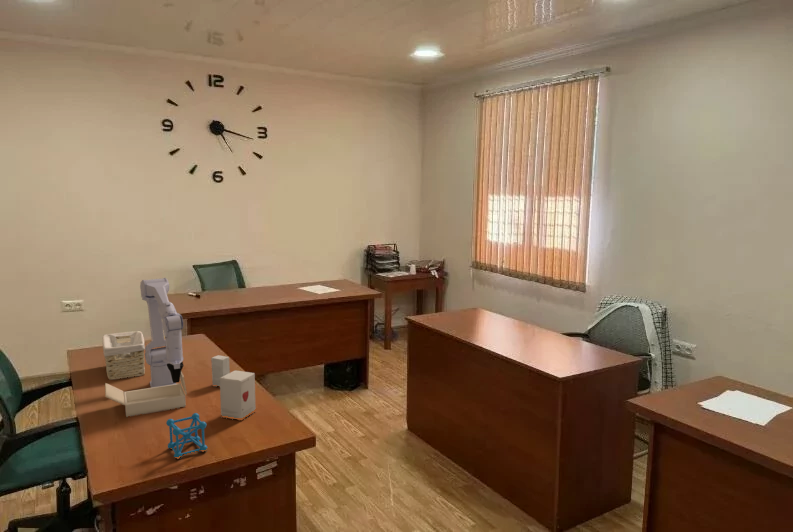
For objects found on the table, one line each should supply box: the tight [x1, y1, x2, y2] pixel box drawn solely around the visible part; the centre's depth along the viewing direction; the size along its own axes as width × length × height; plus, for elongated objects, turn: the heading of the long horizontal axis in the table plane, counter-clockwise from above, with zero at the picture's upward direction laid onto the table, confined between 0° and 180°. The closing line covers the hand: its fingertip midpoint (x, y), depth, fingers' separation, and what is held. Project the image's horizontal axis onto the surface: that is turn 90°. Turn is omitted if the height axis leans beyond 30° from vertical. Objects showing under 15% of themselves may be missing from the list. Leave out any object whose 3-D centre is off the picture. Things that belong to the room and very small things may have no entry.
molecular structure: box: [166, 412, 208, 458], centre depth 174 cm, size 10×10×10 cm
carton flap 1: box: [104, 382, 125, 406], centre depth 203 cm, size 7×14×1 cm
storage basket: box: [102, 330, 146, 381], centre depth 246 cm, size 24×16×15 cm
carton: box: [123, 382, 187, 418], centre depth 209 cm, size 20×14×4 cm
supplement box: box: [219, 370, 256, 418], centre depth 200 cm, size 9×9×15 cm
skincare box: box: [210, 354, 231, 387], centre depth 229 cm, size 6×4×12 cm
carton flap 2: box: [180, 370, 188, 396], centre depth 213 cm, size 7×14×1 cm
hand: (176, 382), depth 212 cm, fingers closed, pressing on carton flap 2
